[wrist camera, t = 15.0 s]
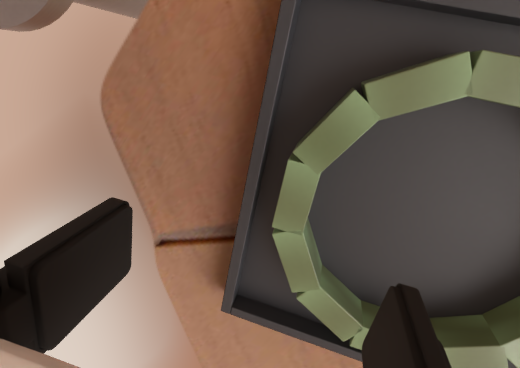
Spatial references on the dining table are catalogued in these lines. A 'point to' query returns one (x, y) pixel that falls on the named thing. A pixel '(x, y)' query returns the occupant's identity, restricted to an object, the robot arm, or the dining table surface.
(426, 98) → the green ring
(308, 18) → the tray
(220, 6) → the dining table surface
